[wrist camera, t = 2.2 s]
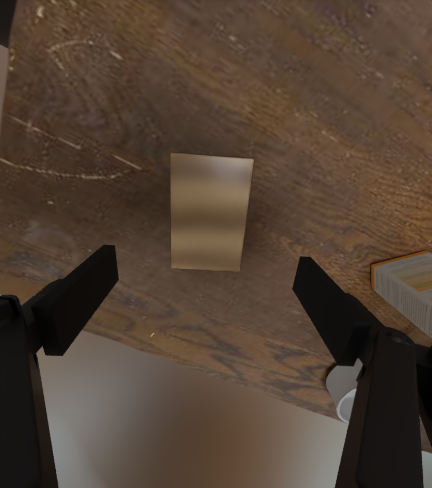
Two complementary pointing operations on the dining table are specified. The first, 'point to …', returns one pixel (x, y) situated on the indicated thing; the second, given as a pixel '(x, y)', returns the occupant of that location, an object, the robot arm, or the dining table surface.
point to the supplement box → (407, 286)
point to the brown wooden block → (208, 210)
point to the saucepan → (343, 388)
